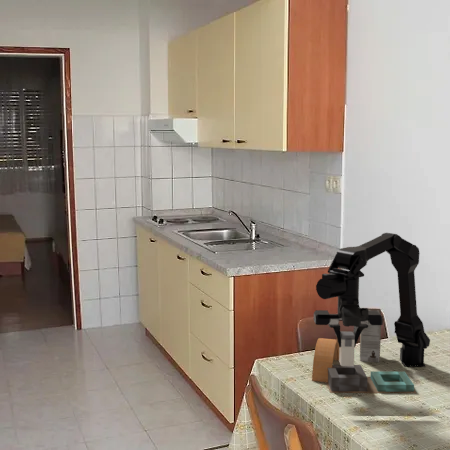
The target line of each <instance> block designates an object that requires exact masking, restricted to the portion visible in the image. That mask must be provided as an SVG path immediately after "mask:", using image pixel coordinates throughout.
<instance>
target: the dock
mask: <svg viewBox="0 0 450 450" xmlns="http://www.w3.org/2000/svg"><path fill="white" fill-rule="evenodd" d="M325 383H326V386H327V389H328V391H329V393H330V394H417V392H416V390H415V384H414V383H413V381H412V379H411V378H410V377H409V376H408V374H407V373H406V371H386V370H384V371H381V370H380V371H374V370H373V371H372V370H371V371H370V376H367V375H366V372H365V371H364V369H363V367H362V365H361V364H354V366H341V365H340V364H333V365H332V368H328V382H325Z"/></svg>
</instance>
